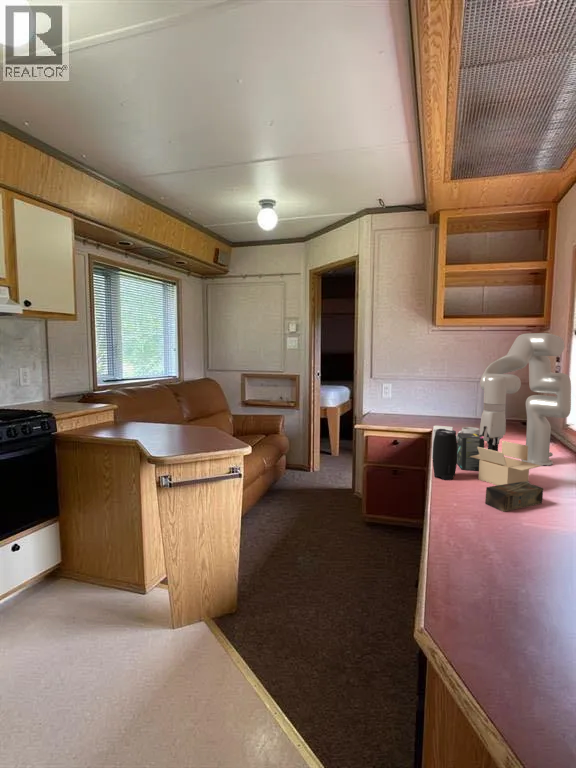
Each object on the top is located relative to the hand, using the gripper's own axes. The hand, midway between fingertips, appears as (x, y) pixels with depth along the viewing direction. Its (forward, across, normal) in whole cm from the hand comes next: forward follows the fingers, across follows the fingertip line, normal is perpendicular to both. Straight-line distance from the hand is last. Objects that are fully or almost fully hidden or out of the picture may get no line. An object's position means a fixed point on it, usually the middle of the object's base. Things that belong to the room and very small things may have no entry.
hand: (492, 454), depth 158 cm
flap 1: (0, 0, 0) cm, 1 cm away
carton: (+12, -7, 0) cm, 14 cm away
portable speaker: (+12, +9, -15) cm, 21 cm away
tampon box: (+13, -12, -19) cm, 26 cm away
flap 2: (+1, -14, 0) cm, 14 cm away
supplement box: (+13, -15, -36) cm, 41 cm away
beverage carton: (+12, +13, +16) cm, 24 cm away
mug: (+13, -46, -45) cm, 66 cm away
